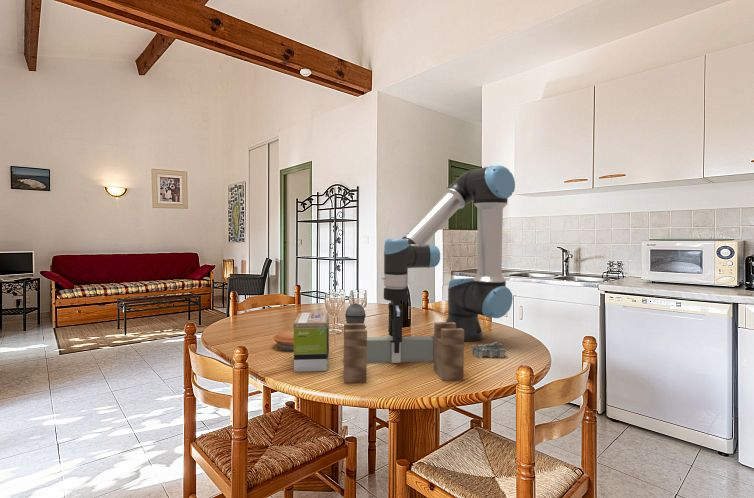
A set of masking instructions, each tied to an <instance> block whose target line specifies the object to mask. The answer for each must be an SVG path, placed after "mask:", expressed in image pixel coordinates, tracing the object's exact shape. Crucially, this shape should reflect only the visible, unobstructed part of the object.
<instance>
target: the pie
mask: <svg viewBox="0 0 754 498" xmlns="http://www.w3.org/2000/svg"><path fill="white" fill-rule="evenodd" d="M272 338H273V340H274V341H275V342H276V344H277V346H278V348H279V349H281V350H284V351H291V352H292V351H293V352H294V332H293V329H289V330H283V331H280V332H278V333H277V334H275V335H274V336H273V337H272Z"/></svg>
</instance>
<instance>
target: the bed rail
mask: <svg viewBox="0 0 754 498" xmlns="http://www.w3.org/2000/svg"><path fill="white" fill-rule="evenodd" d="M392 340H393V337H389V336H367V364H368V363H392V343H391V342H390V341H392ZM408 362H409V363H411V362H413V363H416V362H419V363H420V362H434V335H433V336H430V335H429V336H428V335H427V336H421V335H420V336H402V342H401V363H408Z"/></svg>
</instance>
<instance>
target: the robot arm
mask: <svg viewBox="0 0 754 498" xmlns="http://www.w3.org/2000/svg"><path fill="white" fill-rule="evenodd" d="M515 188H516V181H515V178H514V175H513V173H512V172H511V171H510V169H508V168H507V166H505V165H490V166H485V167H480V168H475V169H471V170H470V169H469V170H467V171H465V172H464V173H462V174H461V175H459V177H457V178H455V180H453V181H452V182H451V184H450V185H448V187H447V188H446V189H444V191H443V195H442V196H441V197H440V199H439V200H437V202H436V203H435V204H433V205H432V207H431V208H430V209H428V210H427V212H426V213H425V214H424V215H423V216H422V217H421V218H420V219H419V220H418V221H417V222H416V223H415V224H414V225H413V226H412V227H411V228H410V230H409V231H407V232H406V234H404V235H403V237H401V238H387V239H385V241H384V245H383V246H384V249H383V276H382V277H381V280H383V286H384V288H383V299H384V300H385V301H389V303H388V306H387V308H388V330H387V331H388V337H393V340H392V341H390V342H391V343H392V362H391V364H401V363H402V362H401V342H402V337H403V312H404V311H403V306H402V305H401V302H403V301H406V300H408V279H409V273H408V272H409V271H408V270H409V269H415V268H416V269H420V268H422V269H423V268H428V269H429V268H436V267H437V266H438V265H439V263H440V262H441V251H440V248H439V247H438V246H437V245H435V244H429V243H428V242H429V241H430V239H431V238H432V237H433V236H434V235H435V234H436V233H437V232H438V231H439V230H440V229H441V228H442V227H443V226H444V225H445V223H446V222H447V221H448V220H449V219H450V218H451V217H452V216H453V215H454V214H455V213H456V212H457V211H458V210H460V209H461V210H462V209H463V208H464V207H465V206H466V205H467V204H470V203H472V202H473V205H474V206H475V207H476V208H477V251H476V252H477V256H476V257H477V258H476V260H477V264H476V266H477V267H476V275H475V276H474V277H473V278H472V277H471V278H470V277H469V278H467V277H466V278H453V279H450V280H449V281H448V286H447V287H448V288H447V318H446V321H445V322H454V323H456V328H462V329H463V330H464V342H474V341H475V342H476V341H480V340H482V339H483V330H482V327H481V323H480V320H479V315H480V316H484V317H485V318H489V319H490V318H493V319H500V318H502V317H505V315H506V314H507V313H508V312H509V311H510V309H511V307H512V304H513V293H512V292H511V289H509V288H508V287H507V285H506V284H507V280H506V279H505V278H504V277H503V275H502V273H503V272H502V271H503V269H502V267H503V265H502V264H503V227H504V226H503V223H504V222H503V220H504V218H503V216H504V213H503V212H504V208H505V207H506V206H507V205H508V199H509V198H511V196H512V195H513V194H514V193H515ZM426 243H428V244H426Z"/></svg>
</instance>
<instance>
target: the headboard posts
mask: <svg viewBox="0 0 754 498" xmlns="http://www.w3.org/2000/svg"><path fill="white" fill-rule="evenodd" d="M433 329H434V332H433V333H434V334H433V336H434V361H433V370H434V371H435V372H436V374H437V375H438V377H439V379H441V381H445V382H446V381H464V366H465V365H464V363H465V341H464V330H463V329H462V328H456V323H454V322H446V321H444V322H441V321H440V322H439V321H438V322H437V321H435V322H434V327H433ZM367 330H368V329H367V328H366V323H365V322H364V323H347V322H346V323H343V383H345V384H353V383H354V384H357V383H361V384H362V383H367V375H368V374H367V371H368V370H367V365H368V363H367V337H368V331H367Z"/></svg>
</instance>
